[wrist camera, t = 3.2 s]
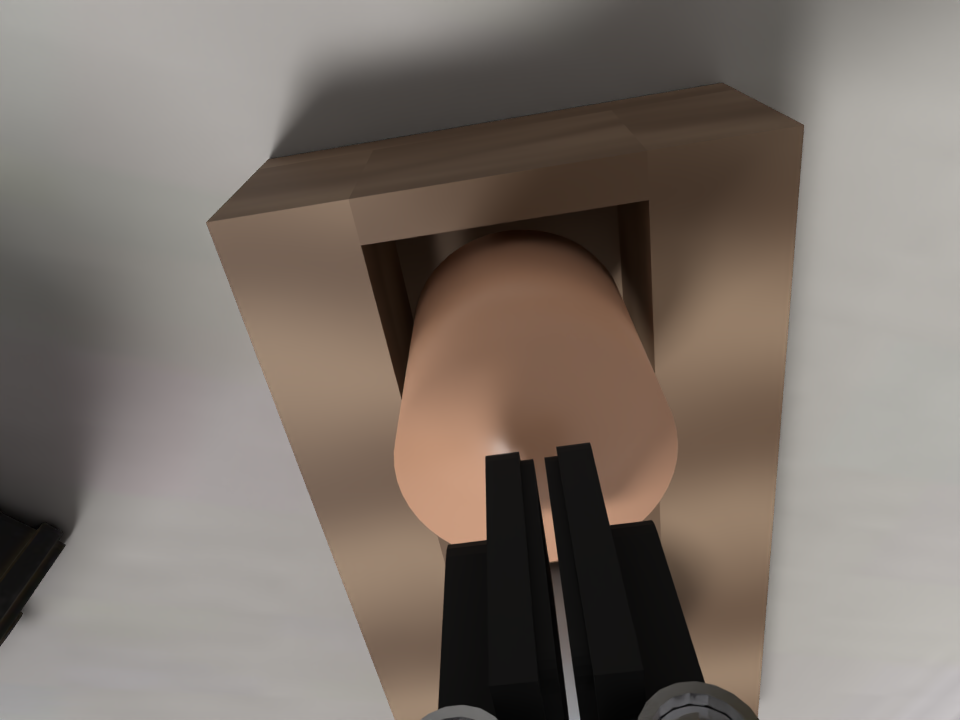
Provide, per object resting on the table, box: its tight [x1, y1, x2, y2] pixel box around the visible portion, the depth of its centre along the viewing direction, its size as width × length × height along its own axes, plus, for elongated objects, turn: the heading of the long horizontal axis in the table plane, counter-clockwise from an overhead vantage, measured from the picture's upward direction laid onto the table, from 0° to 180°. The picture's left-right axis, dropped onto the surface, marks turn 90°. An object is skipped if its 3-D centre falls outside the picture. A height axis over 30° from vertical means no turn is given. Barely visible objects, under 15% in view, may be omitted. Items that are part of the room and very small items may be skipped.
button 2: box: [394, 229, 678, 562], centre depth 14 cm, size 5×5×5 cm
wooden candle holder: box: [206, 83, 804, 720], centre depth 23 cm, size 28×12×5 cm, turn 9°
